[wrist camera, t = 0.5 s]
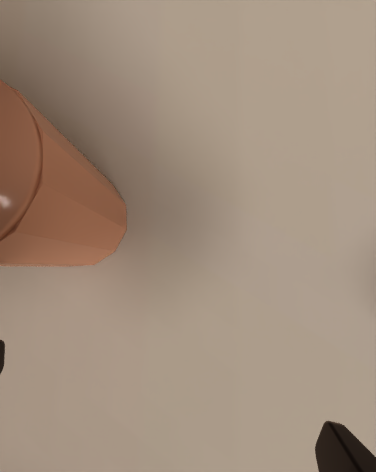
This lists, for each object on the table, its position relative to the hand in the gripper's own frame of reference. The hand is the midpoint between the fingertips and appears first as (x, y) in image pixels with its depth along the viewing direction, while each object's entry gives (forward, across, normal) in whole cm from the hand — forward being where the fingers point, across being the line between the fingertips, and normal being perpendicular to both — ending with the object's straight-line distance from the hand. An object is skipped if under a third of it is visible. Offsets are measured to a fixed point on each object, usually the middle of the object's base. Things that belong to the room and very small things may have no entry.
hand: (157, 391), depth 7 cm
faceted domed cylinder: (+14, +10, 0) cm, 17 cm away
